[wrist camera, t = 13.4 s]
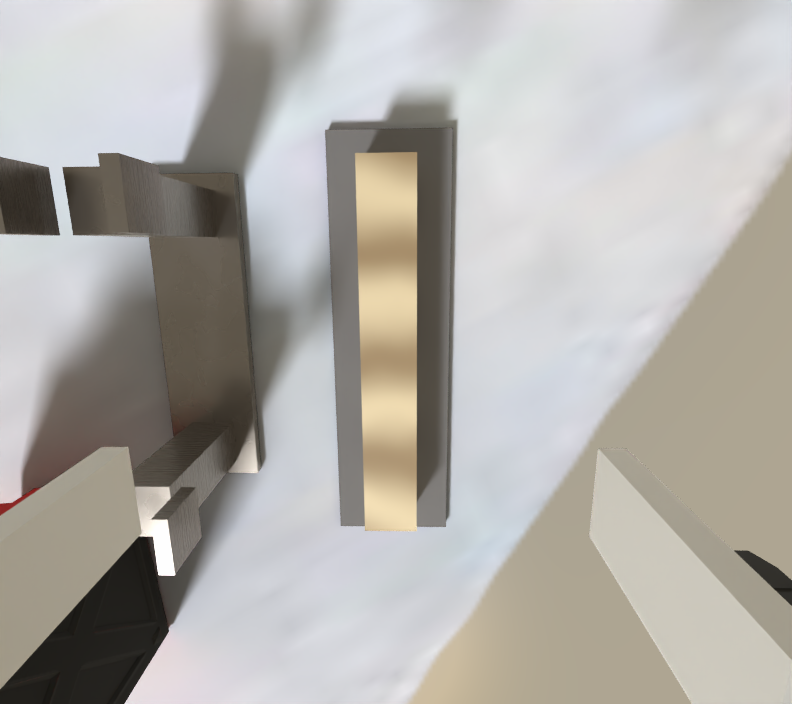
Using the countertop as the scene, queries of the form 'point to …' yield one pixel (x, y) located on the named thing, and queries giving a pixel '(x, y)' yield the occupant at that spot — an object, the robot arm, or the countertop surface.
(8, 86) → the countertop surface
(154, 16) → the countertop surface
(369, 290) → the rail
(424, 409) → the mat
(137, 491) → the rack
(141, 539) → the red coffee machine
